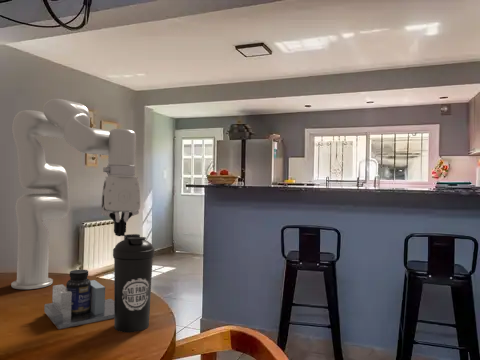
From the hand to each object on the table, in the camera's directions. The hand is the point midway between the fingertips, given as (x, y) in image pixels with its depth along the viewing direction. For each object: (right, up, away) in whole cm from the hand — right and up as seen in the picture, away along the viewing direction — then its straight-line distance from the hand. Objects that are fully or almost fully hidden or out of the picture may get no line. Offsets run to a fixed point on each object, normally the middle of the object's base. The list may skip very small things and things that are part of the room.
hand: (119, 235), depth 111 cm
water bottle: (+7, -21, -13) cm, 26 cm away
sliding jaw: (-6, -20, -4) cm, 21 cm away
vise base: (-8, -21, -6) cm, 23 cm away
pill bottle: (-9, -20, -7) cm, 23 cm away
